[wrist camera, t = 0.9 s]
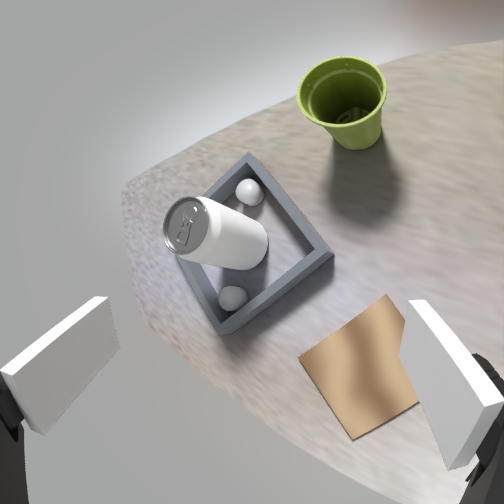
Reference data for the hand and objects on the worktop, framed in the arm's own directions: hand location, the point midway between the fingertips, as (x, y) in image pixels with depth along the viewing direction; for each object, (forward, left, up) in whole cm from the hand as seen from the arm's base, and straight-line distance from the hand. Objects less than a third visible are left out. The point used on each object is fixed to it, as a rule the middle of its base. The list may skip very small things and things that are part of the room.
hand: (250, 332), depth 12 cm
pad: (+2, +7, -22) cm, 23 cm away
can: (+6, -14, -23) cm, 27 cm away
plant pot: (-14, -16, -23) cm, 31 cm away
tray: (+6, -14, -22) cm, 27 cm away
